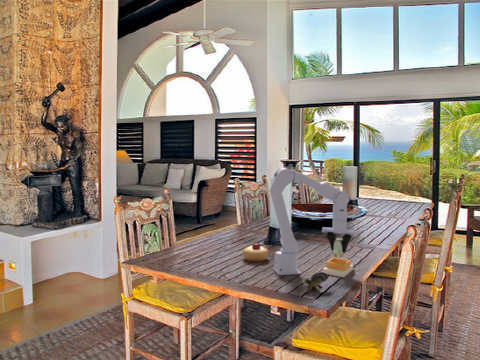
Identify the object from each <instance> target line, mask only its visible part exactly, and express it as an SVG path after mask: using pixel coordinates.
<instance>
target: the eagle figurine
mask: <svg viewBox="0 0 480 360" xmlns="http://www.w3.org/2000/svg"><path fill="white" fill-rule="evenodd" d="M328 278H329V277H328V274H325V273H323V271H320V272H317V273H315V274H312V275H311V278H310V279H309V278H308V277H304V278H302V279H301V281H302V283H303V284H306V285H305V288H308V290H307V293H310V292H311V291H312V289H313V288H314V289H316V290H317V291H319V292H321V289H320V287H323V286H322V285H320V284H319V283H322V282H325V281H327V280H328Z"/></svg>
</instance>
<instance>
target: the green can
mask: <svg viewBox="0 0 480 360" xmlns="http://www.w3.org/2000/svg"><path fill="white" fill-rule="evenodd" d="M332 252H333V253H332V255H333V257H334V258H343V257H345V252H343V238H339V237H335V238H334V239H333V251H332Z"/></svg>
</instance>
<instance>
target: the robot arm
mask: <svg viewBox="0 0 480 360" xmlns="http://www.w3.org/2000/svg"><path fill="white" fill-rule="evenodd" d="M292 182H293V183H294V184H295V183H301V184H303V185H306V186H308V187H310V188H312V189H314V190H315V191H316V194H317V195H319V196H321V197H323V198H324V199H327V200H329V201H332V204H333V205H332V227H325V226H322V228H321V233H326V238H327V240H328V242H329V245H330V248H331V249H330V250H331V251H332V252H333V239H334V238H336V235H343V236H342V239H343V252H344V253H346V252H347V249H348V246H349V243H350V241H351V239H352V237H355V238H356V237H357V236H358V231H356V230H352V229H347V226H348V225H347V222H348V221H347V220H348V218H347V217H348V203H349V202H350V197H349V194H348V193H347V192H345V191H343V190H341V188H339V187H335V186H334V185H331V183H330V182H328V181H321V182H318V181H316V180H314V179H313V178H311V177H309V176H307V175H305V174H303V173H301V171H296V170H294V169H290V168H287V167H285V166H281V167H279V168H278V169H277V170H276V172H274V174H273V178H272V181H271V184H270V186H269V194H270V197H271V201H272V204H273V208H274V211H275V212H274V213H275V215H276V221H277V223H278V227H279V234H280V240H279V241H280V244H281V248H280V250H278V251H275V252H274V256H273V257H274V258H273V259H274V260H273V261H274V262H273V270H274V271H275V273H276V274H277V276H284V275H301V272H300V271H299V270H298V248H299V241H298V240H296V238H295V235H294V233H293V230H292V227H291V223H290V218H289V215H288V212H287V207H286V203H285V199H284V198H283V197H284V195H283V192H284V190H285V189H286V187H287V186H289V185H290V184H291V183H292Z"/></svg>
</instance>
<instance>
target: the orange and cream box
mask: <svg viewBox="0 0 480 360" xmlns="http://www.w3.org/2000/svg"><path fill="white" fill-rule="evenodd" d="M325 263H326V264H325V267H323V268H322V272H323V273H325V274H326V275H329V276H333V277H334V276H335V277H338V278H346V276H347V275H349V273H351V272H352V271H353V270H354V264H351V259H345V258H341V257H335V256H333V257H331V258H330V259H328V260H327V261H326V262H325Z"/></svg>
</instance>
